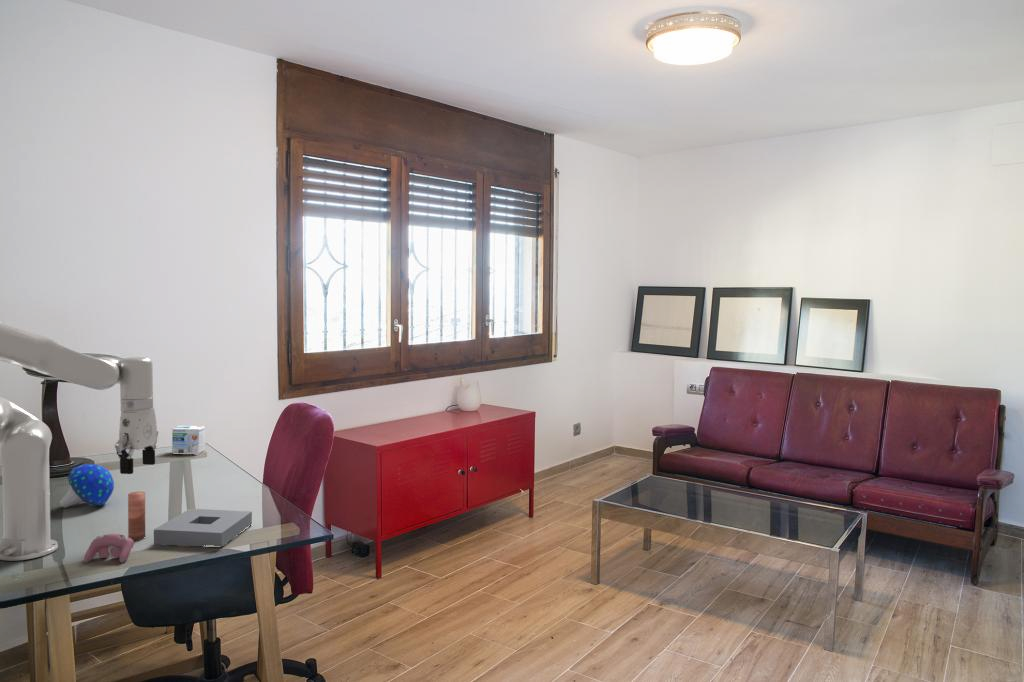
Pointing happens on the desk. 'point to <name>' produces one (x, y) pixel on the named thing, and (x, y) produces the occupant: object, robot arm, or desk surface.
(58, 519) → the desk surface
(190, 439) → the light bulb box
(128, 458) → the robot arm
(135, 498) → the dowel
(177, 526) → the socket plate
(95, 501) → the mushroom
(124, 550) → the video game controller
